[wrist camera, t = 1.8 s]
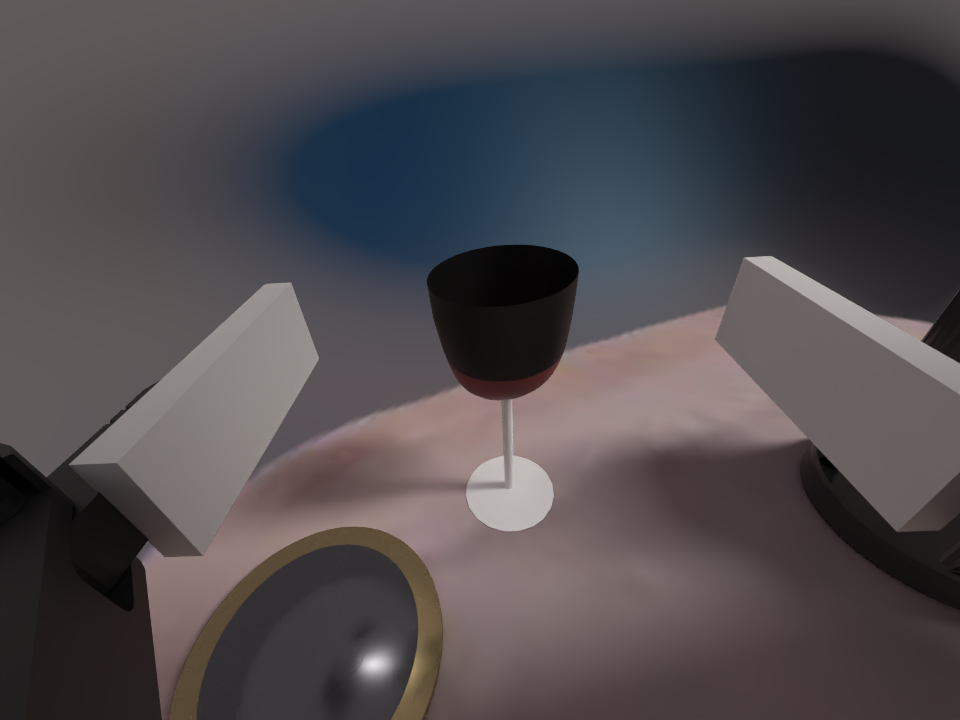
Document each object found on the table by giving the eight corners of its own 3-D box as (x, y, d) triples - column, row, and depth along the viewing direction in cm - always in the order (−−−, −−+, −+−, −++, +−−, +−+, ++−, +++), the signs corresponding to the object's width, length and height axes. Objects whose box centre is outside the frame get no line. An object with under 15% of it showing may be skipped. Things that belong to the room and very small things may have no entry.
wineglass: (441, 493, 33) (397, 277, 21) (510, 438, 38) (505, 236, 26) (508, 559, 28) (498, 325, 16) (578, 486, 33) (609, 264, 21)
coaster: (413, 502, 32) (412, 498, 32) (478, 752, 20) (477, 749, 20) (204, 576, 28) (200, 572, 28) (123, 943, 16) (115, 944, 16)
